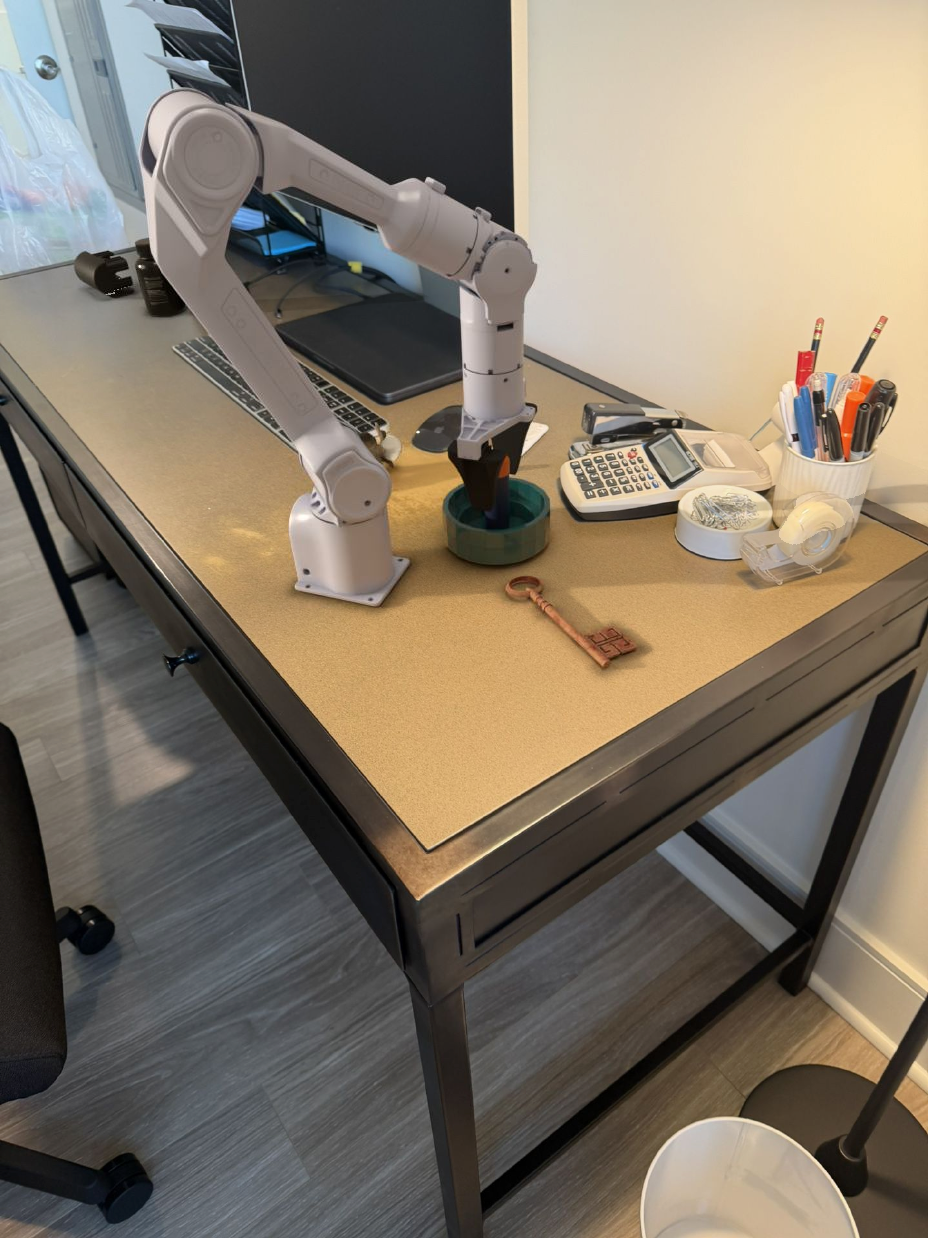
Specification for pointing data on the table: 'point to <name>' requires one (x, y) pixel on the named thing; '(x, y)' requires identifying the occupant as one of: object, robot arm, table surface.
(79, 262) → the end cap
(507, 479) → the glue stick
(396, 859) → the table surface
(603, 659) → the key
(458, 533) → the bowl
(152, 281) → the supplement bottle
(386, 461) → the eagle figurine
